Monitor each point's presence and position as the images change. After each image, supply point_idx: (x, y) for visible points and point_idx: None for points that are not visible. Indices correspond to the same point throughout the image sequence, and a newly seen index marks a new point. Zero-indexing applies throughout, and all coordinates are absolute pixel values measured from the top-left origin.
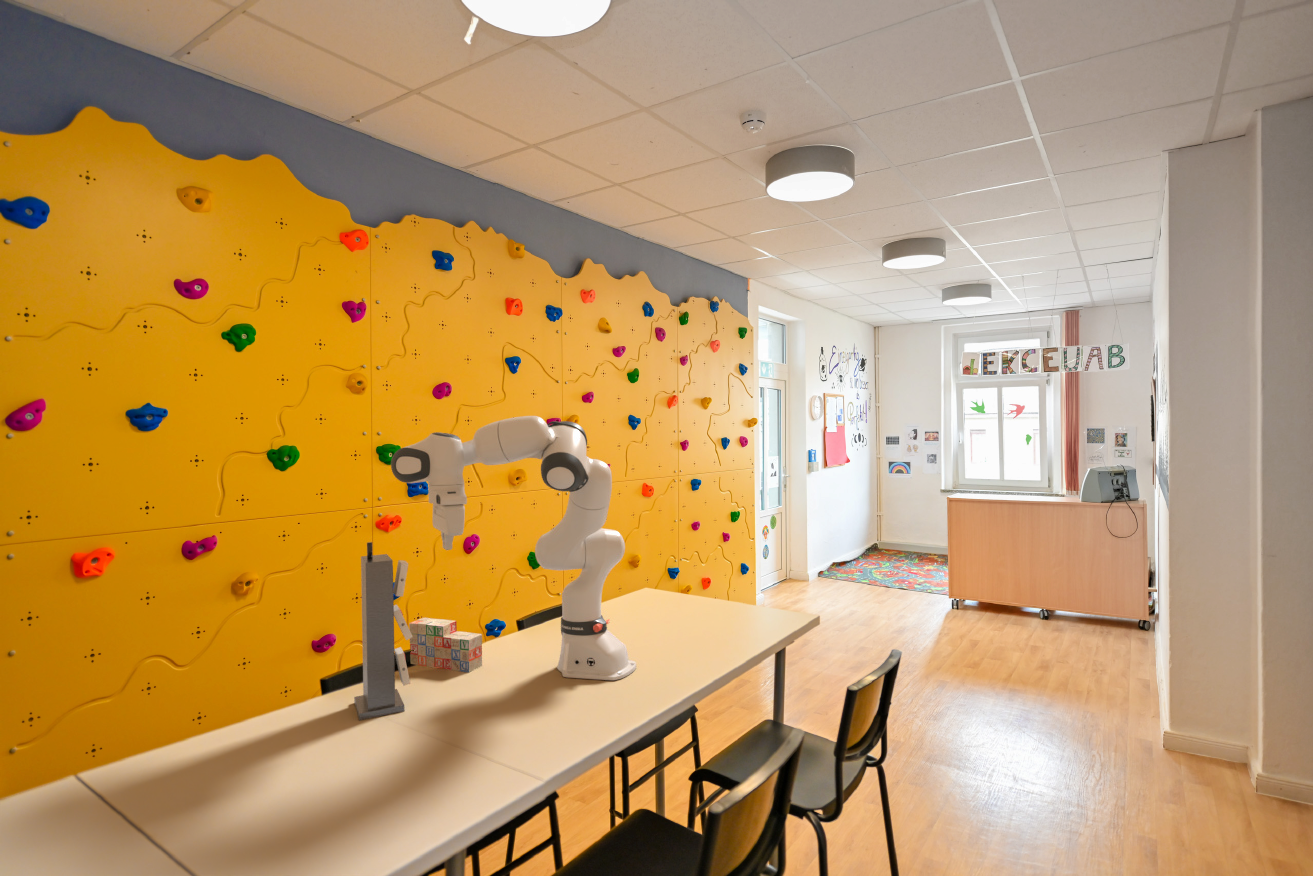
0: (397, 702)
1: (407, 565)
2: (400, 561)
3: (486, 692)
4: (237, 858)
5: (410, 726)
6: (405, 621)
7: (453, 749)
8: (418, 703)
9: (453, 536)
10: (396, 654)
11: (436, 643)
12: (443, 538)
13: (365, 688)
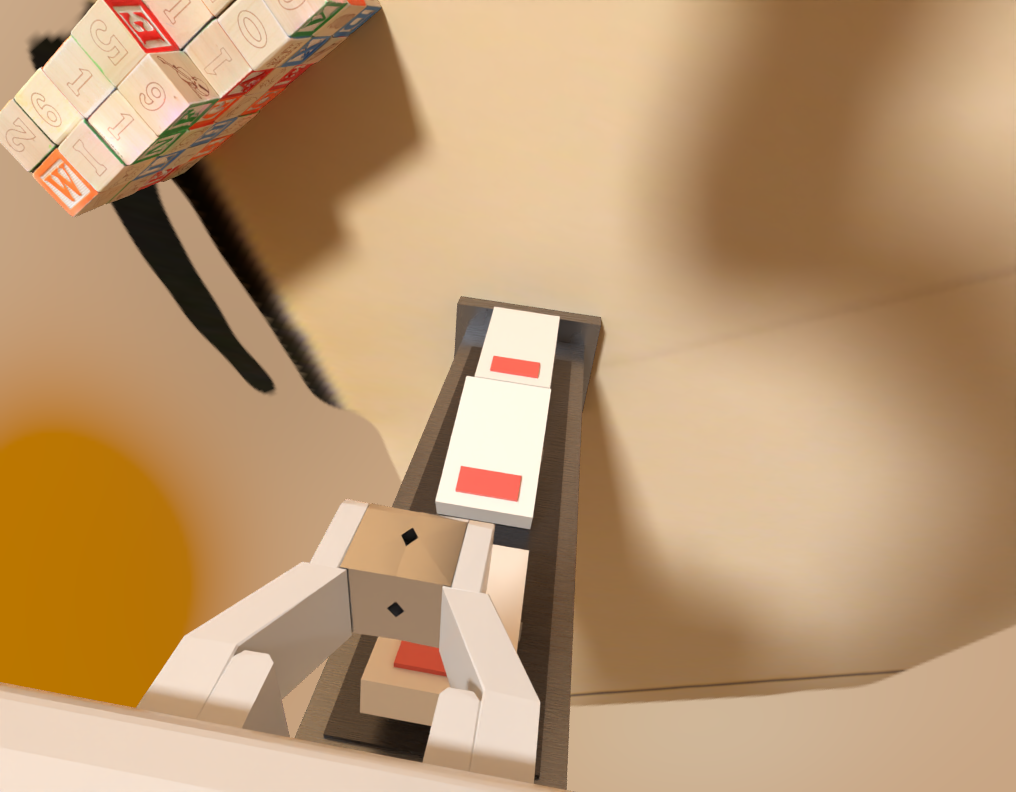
0: (569, 334)
1: None
2: (417, 720)
3: (638, 32)
4: (958, 638)
5: (714, 336)
6: (541, 455)
7: (957, 300)
8: (569, 268)
9: (538, 704)
10: None
11: (210, 116)
12: (303, 666)
13: None
